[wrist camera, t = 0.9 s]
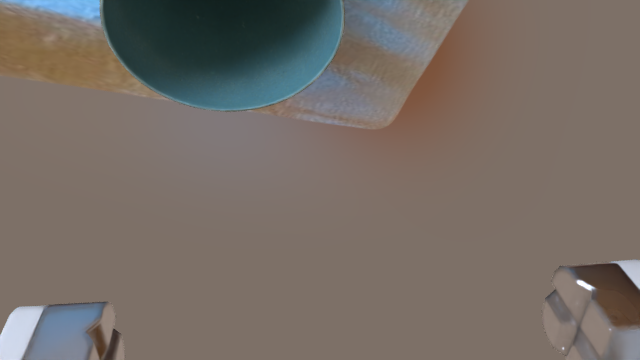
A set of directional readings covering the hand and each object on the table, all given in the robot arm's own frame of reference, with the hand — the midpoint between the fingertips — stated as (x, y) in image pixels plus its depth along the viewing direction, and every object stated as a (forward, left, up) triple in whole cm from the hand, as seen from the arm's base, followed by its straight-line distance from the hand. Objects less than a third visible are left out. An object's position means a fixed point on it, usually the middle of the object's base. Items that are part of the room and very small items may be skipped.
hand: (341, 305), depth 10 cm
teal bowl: (+15, -9, -43) cm, 46 cm away
